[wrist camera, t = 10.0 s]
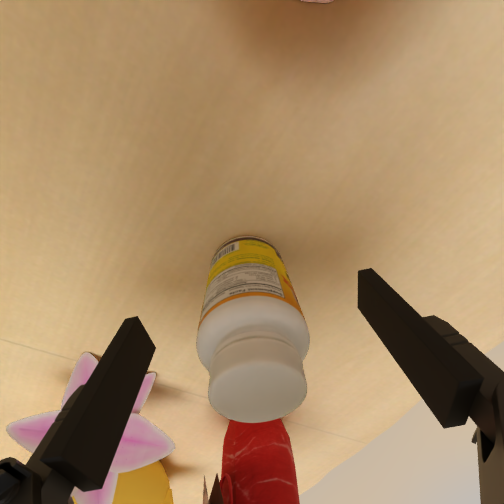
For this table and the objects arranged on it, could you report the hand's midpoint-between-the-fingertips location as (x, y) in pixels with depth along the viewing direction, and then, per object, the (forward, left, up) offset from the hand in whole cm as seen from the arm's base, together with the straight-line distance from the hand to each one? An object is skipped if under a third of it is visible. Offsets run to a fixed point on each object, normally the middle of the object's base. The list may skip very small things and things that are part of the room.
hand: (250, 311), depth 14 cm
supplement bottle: (0, 0, -5) cm, 5 cm away
